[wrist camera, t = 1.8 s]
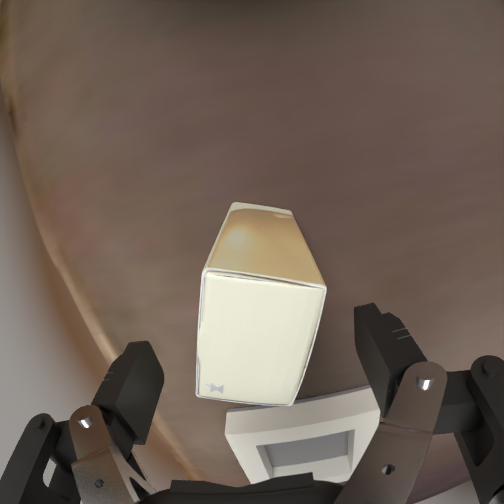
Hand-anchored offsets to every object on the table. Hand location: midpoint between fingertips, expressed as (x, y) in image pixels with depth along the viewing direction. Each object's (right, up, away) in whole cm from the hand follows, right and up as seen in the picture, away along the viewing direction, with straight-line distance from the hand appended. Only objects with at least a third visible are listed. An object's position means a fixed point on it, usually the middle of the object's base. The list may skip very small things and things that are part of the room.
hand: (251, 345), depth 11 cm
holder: (+6, -19, +20) cm, 28 cm away
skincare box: (0, +4, +11) cm, 12 cm away
